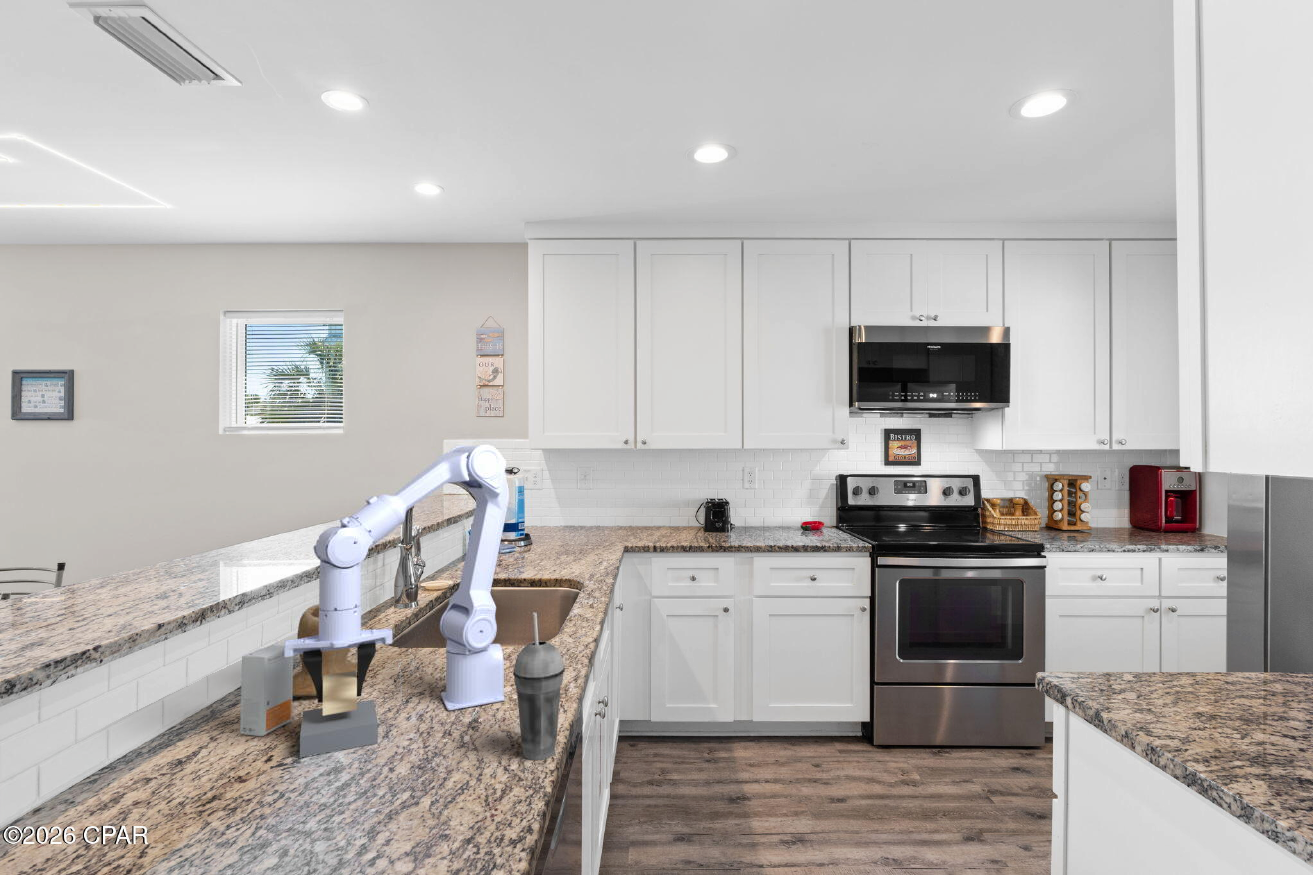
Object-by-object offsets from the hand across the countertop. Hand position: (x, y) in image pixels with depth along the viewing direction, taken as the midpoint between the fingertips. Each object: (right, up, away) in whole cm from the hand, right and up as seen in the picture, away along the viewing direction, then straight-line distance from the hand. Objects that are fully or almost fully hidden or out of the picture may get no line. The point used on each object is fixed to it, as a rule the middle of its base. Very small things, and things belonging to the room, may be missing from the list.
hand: (339, 697), depth 96 cm
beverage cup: (+31, -6, -6) cm, 32 cm away
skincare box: (-13, -6, +3) cm, 15 cm away
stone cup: (-13, -7, +21) cm, 26 cm away
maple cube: (0, -2, 0) cm, 2 cm away
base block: (0, -6, 0) cm, 6 cm away
